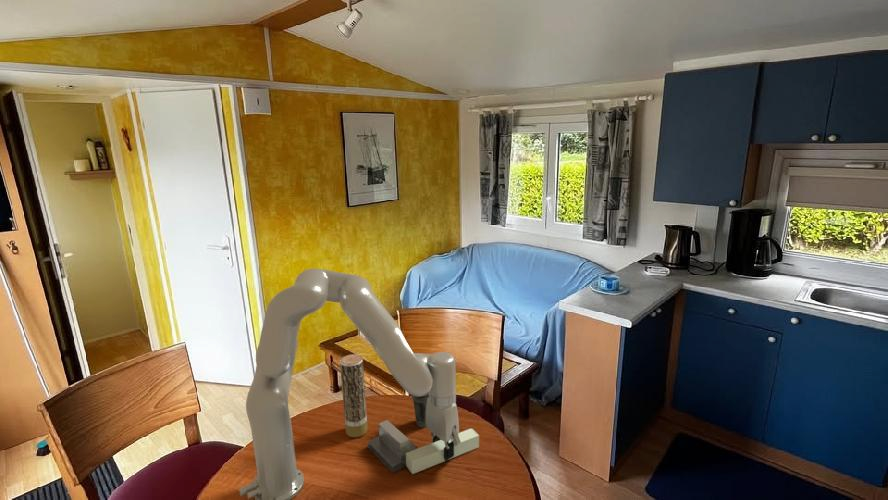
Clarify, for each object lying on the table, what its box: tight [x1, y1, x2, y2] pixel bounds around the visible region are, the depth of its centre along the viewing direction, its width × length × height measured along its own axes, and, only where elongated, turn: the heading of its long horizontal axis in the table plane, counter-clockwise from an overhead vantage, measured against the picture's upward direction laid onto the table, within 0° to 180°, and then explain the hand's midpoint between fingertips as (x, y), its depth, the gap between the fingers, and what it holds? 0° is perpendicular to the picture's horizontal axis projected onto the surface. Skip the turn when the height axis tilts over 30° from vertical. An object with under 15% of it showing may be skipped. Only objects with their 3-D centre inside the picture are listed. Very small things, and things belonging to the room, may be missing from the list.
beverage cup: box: [411, 392, 429, 428], centre depth 141 cm, size 7×7×20 cm
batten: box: [405, 428, 480, 475], centre depth 127 cm, size 22×4×4 cm, turn 120°
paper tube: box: [339, 353, 368, 438], centre depth 136 cm, size 7×7×25 cm
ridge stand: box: [367, 419, 419, 474], centre depth 129 cm, size 10×14×7 cm
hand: (443, 452), depth 127 cm, fingers closed on batten, 4 cm apart
